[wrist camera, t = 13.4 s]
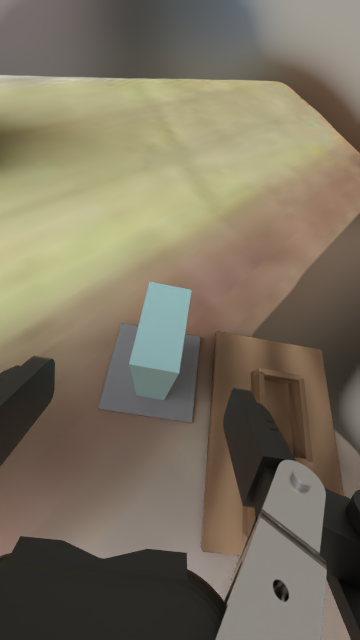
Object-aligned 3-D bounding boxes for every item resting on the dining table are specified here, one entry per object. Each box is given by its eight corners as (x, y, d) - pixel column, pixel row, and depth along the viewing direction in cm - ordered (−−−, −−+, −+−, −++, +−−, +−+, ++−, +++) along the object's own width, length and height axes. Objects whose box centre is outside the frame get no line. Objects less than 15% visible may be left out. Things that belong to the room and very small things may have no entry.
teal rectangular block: (136, 395, 25) (129, 364, 14) (148, 344, 28) (149, 281, 16) (163, 400, 25) (179, 373, 14) (172, 348, 28) (191, 290, 16)
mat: (98, 408, 25) (97, 408, 24) (121, 324, 29) (121, 323, 29) (191, 422, 25) (191, 422, 25) (199, 338, 30) (200, 336, 29)
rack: (201, 547, 21) (209, 564, 18) (215, 333, 30) (222, 323, 27) (348, 564, 22) (376, 583, 19) (317, 351, 31) (333, 343, 28)
